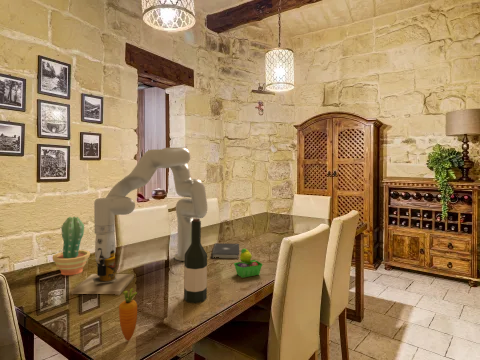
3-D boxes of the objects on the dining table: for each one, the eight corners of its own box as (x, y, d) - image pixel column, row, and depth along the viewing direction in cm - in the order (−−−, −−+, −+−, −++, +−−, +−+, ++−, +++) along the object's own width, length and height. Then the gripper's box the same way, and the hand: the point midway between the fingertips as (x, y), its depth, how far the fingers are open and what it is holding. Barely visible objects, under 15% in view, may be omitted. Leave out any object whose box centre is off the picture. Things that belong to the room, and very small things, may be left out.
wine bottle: (185, 293, 121) (185, 216, 120) (206, 293, 122) (207, 216, 120) (183, 303, 113) (183, 220, 111) (206, 303, 114) (207, 220, 112)
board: (133, 277, 138) (133, 274, 137) (119, 294, 120) (119, 290, 119) (92, 277, 137) (92, 273, 137) (71, 294, 119) (71, 290, 119)
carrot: (130, 334, 93) (130, 284, 92) (141, 339, 90) (141, 288, 89) (115, 341, 88) (114, 289, 88) (126, 348, 86) (125, 294, 85)
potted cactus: (98, 268, 148) (97, 215, 147) (70, 279, 134) (70, 221, 132) (72, 264, 153) (72, 213, 152) (43, 275, 139) (42, 218, 137)
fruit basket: (240, 279, 138) (241, 253, 137) (232, 272, 146) (232, 248, 145) (263, 275, 143) (263, 250, 142) (253, 269, 151) (253, 246, 150)
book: (214, 248, 189) (214, 243, 188) (238, 248, 189) (238, 243, 189) (211, 259, 167) (211, 253, 167) (239, 259, 167) (239, 254, 167)
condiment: (118, 280, 127) (117, 251, 127) (95, 284, 123) (95, 254, 122) (113, 275, 133) (113, 247, 133) (92, 278, 129) (91, 250, 128)
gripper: (105, 233, 119) (106, 280, 120) (121, 224, 136) (121, 265, 137) (85, 233, 118) (86, 280, 119) (103, 224, 135) (104, 265, 137)
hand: (105, 272), depth 128 cm, fingers closed on condiment, 6 cm apart
